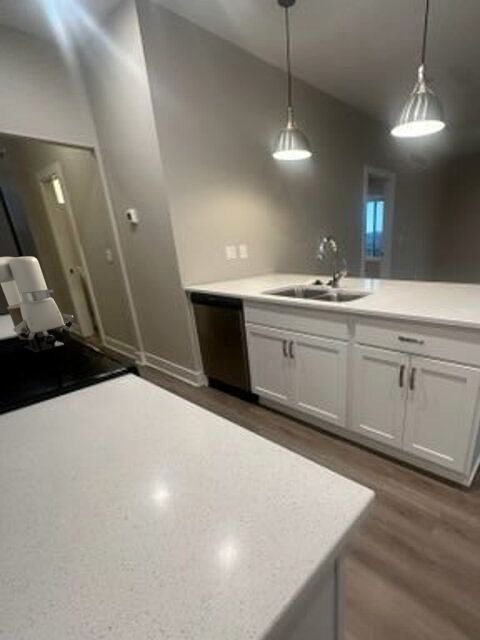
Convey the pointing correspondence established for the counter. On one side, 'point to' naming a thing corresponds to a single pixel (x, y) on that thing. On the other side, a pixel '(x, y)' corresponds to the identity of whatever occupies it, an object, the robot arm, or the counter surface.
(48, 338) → the lever
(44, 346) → the bracket
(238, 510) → the counter surface
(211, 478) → the counter surface
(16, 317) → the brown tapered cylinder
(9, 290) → the cylindrical container
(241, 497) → the counter surface
